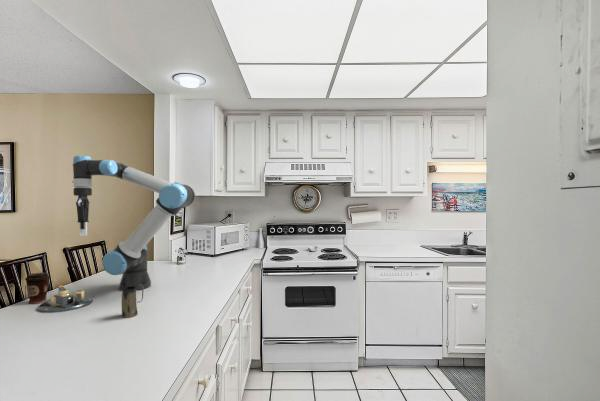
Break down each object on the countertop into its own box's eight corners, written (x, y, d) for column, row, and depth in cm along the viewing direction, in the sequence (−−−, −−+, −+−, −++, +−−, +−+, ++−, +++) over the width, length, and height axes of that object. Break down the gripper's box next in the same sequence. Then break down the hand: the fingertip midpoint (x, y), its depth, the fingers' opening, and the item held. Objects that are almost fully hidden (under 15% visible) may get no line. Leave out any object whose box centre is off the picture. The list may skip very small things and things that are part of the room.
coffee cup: (35, 305, 144) (34, 276, 144) (20, 304, 146) (19, 275, 146) (53, 299, 153) (53, 272, 153) (39, 298, 154) (39, 271, 154)
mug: (119, 318, 128) (119, 288, 128) (124, 313, 133) (123, 284, 133) (141, 316, 130) (141, 286, 129) (145, 312, 135) (144, 283, 135)
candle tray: (98, 296, 158) (98, 285, 158) (84, 309, 139) (84, 297, 139) (50, 300, 152) (50, 289, 152) (28, 314, 133) (28, 302, 133)
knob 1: (69, 299, 149) (69, 287, 149) (60, 301, 146) (59, 289, 146) (65, 295, 155) (65, 284, 154) (56, 297, 152) (55, 286, 152)
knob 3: (74, 300, 147) (74, 288, 147) (84, 298, 149) (84, 287, 149) (74, 305, 140) (73, 293, 140) (84, 303, 142) (83, 291, 142)
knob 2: (48, 306, 140) (48, 294, 139) (58, 303, 143) (57, 291, 143) (60, 308, 136) (60, 296, 136) (69, 306, 139) (69, 293, 139)
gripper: (78, 188, 165) (78, 234, 165) (69, 187, 153) (69, 237, 153) (95, 188, 167) (95, 233, 168) (87, 187, 155) (88, 236, 155)
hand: (83, 235), depth 160 cm, fingers closed
